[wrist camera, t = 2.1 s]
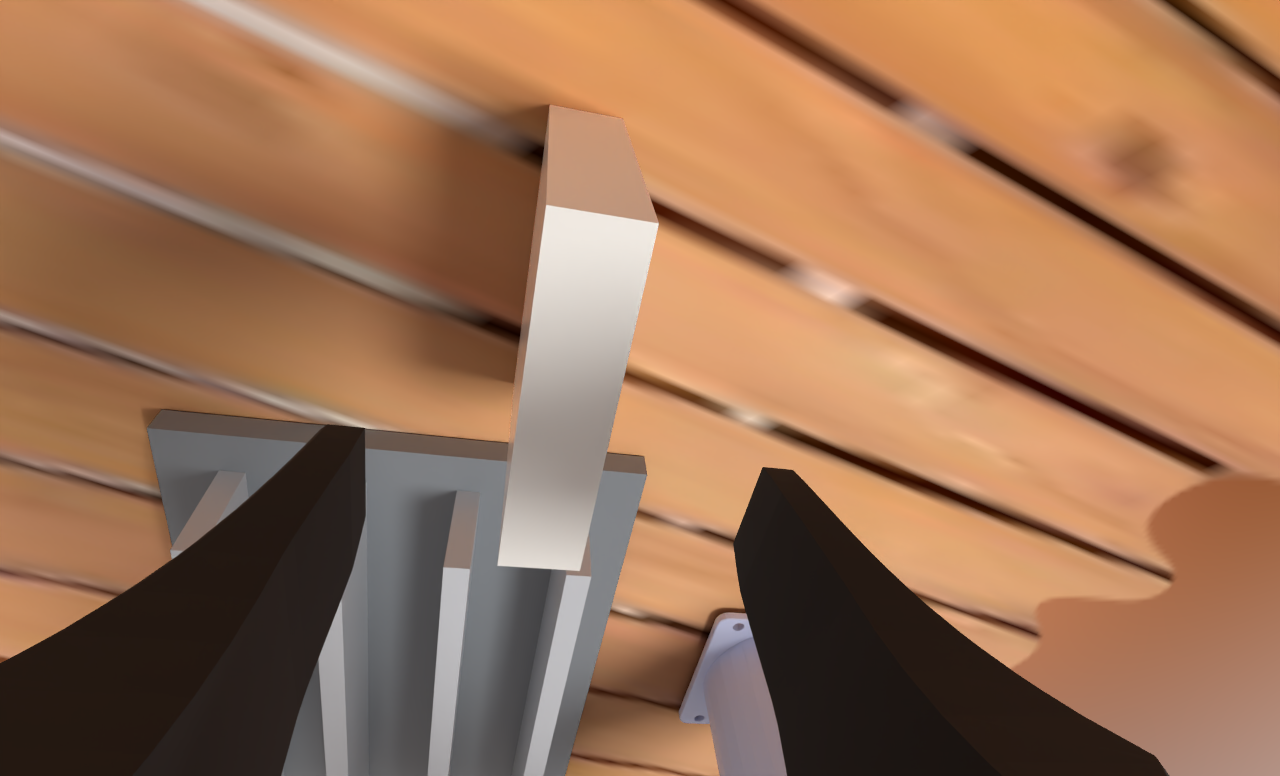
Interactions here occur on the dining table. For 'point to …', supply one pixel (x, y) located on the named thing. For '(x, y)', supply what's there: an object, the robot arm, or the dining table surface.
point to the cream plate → (573, 335)
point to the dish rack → (423, 601)
